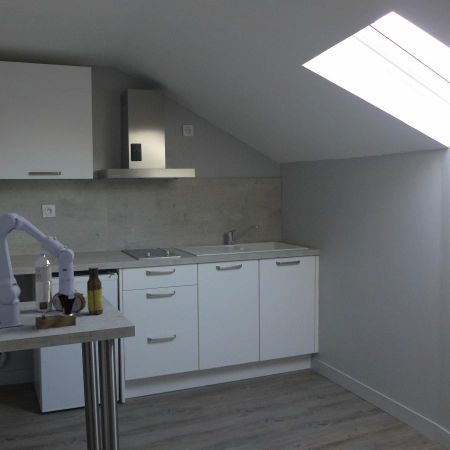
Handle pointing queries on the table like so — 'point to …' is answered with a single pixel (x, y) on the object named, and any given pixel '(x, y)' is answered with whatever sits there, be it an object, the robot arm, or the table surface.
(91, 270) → the sauce bottle
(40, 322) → the stand
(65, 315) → the copper plunger
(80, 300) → the tin
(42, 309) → the chrome threaded knob
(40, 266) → the water bottle
